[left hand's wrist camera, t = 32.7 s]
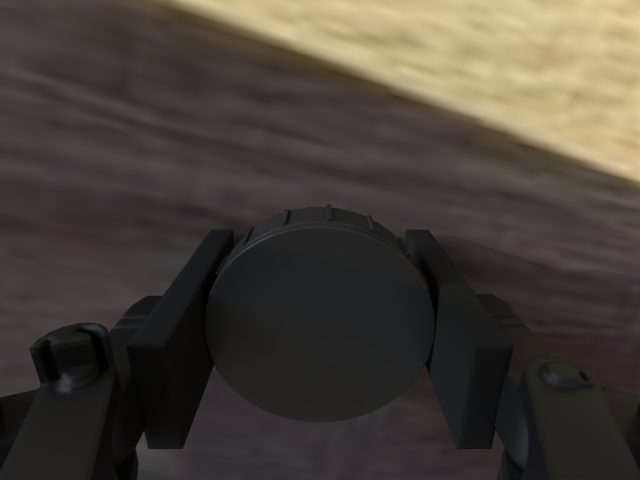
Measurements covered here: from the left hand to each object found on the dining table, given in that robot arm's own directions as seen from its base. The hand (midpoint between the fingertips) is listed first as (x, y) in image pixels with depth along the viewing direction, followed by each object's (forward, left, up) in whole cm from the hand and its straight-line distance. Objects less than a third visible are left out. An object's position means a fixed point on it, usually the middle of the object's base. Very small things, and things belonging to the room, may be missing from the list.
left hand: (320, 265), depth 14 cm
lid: (0, 0, +4) cm, 4 cm away
